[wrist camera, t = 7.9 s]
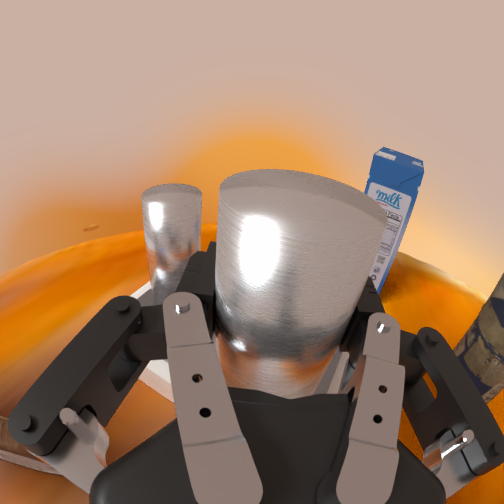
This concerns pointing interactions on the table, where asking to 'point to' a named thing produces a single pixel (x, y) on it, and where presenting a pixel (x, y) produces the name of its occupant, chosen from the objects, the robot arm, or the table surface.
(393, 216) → the milk carton
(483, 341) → the canister
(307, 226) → the cylinder
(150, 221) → the cylinder
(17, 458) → the tin
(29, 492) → the table surface
